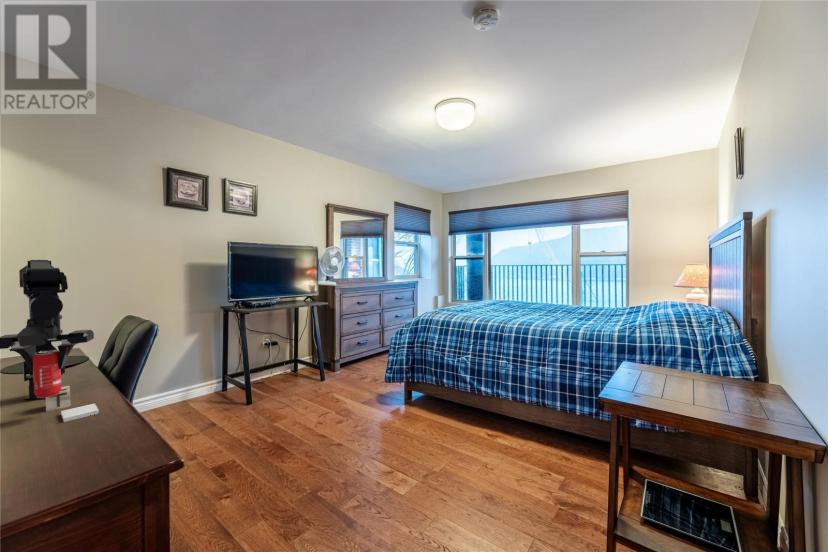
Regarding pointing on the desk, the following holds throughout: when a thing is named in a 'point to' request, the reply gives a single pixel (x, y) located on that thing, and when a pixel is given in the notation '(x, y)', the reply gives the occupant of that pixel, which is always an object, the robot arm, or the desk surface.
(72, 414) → the white mat
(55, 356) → the beverage can
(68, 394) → the letter block
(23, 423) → the desk surface
